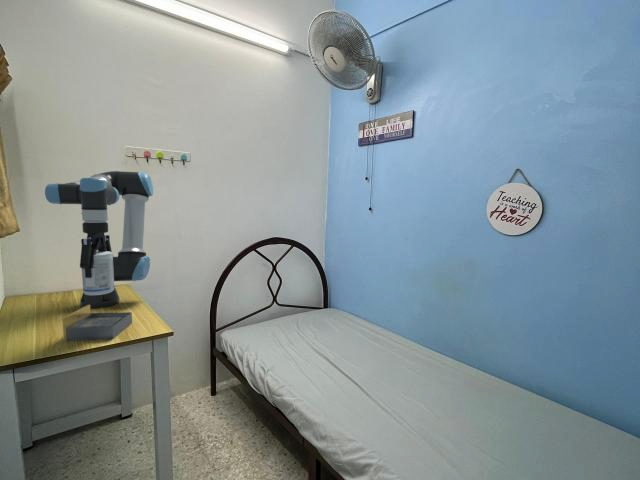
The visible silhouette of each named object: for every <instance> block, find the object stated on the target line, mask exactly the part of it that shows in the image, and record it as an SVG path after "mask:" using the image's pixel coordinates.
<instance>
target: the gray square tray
mask: <svg viewBox="0 0 640 480" xmlns="http://www.w3.org/2000/svg"><path fill="white" fill-rule="evenodd" d="M132 324H133V313H132V312H131V311H130V312H129V311H128V312H92V311H91V308H90V305H86V306H84V307H83V308H82V307H80V308H79V309H77V310H75V311H74V312H72V313H70V314H68V315H66V316H64V317H63V318H62V331H63V332H62V334H63V341H65V342H67V341H92V340H93V341H97V340H98V341H99V340H114V339H115V338H116V337H118V336H119V335H120V334H122V332H124V331H125V330H127V328H128V327H129V326H131V325H132Z"/></svg>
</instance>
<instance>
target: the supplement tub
mask: <svg viewBox="0 0 640 480" xmlns="http://www.w3.org/2000/svg"><path fill="white" fill-rule="evenodd" d="M112 254H113V251H112V252H109V251H106V252H98V250H97V251H96V255H94V264H93V268H94V269H95V286H94V287H86V281H85V269H81V277H82V278H81V279H82V280H81V281H82V294H83V293H84V294H86V295H103V294H107V293H110V292H112V291H113V290H114V286H115V281H114V270H113V257H114V255H113V256H112Z"/></svg>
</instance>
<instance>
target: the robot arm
mask: <svg viewBox="0 0 640 480" xmlns="http://www.w3.org/2000/svg"><path fill="white" fill-rule="evenodd" d="M153 186H154V185H153V182H152V178H151V176H150V175H149V174H148V173H146V172H140V171H119V170H111V171H105V172H101V173H97V174H96V173H95V174H93V175H91V176H90V177H82V178H80V180H76V181H71V182H67V183H58V182H56V183H48V184H47V185H46V186H45V188H44V196H45V199H46V200H47V202H48V203H49V204H53V205H81V213H80V214H81V220H82V221H83V222H82V232H83V234H87V235H86V238H80V239H81V240H80V242H81V250H80V251H81V252H80V260H79V261H80V262H79V268H81V270H82V269H85V281H86V287H94V286H95V269H94V268H93V264H94V255H96V251H98V252H106V251H109V252H112V256H113V270H114V282H131V281H132V282H136V281H137V282H138V281H143V280H145V279H146V278H147V276H148V274H149V271H150V268H151V267H150V266H151V262H150V261H151V259H150V256H149V255H147V252H146V251H145V250H144V233H145V231H144V230H145V214H146V213H145V212H146V211H145V209H146V203H147V202H148V201H149V197H152V196H153V195H154V187H153ZM120 196H121V199H123V200H124V215H123V231H122V244H121V245H122V247H121V248H122V249H120V250H119V251H118V252H117V256H114V255H113V251H112V246H111V241H110V239H111V238H110V234H108V235H107V234H106V233H109V223H108V222H107V221H108V220H109V219H108V218H109V216H108V206H111V205H115V204H116V203H117V202H118V201H119V199H120ZM119 302H120V295H119V293H118V291H117V289H116V287H115V285H114V290H113V291H112V292H110V293H107V294H103V295H86V294H84V293H83V292H82V295H81V298H80V303H79V306H80V308H83V307H84V306H86V305H90V309H101V308H106V307H110V306H114V305H116V304H118V303H119Z"/></svg>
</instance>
